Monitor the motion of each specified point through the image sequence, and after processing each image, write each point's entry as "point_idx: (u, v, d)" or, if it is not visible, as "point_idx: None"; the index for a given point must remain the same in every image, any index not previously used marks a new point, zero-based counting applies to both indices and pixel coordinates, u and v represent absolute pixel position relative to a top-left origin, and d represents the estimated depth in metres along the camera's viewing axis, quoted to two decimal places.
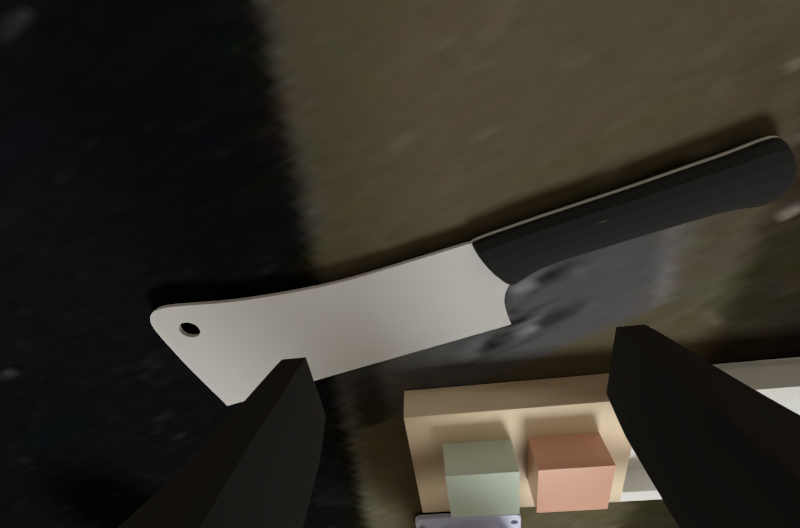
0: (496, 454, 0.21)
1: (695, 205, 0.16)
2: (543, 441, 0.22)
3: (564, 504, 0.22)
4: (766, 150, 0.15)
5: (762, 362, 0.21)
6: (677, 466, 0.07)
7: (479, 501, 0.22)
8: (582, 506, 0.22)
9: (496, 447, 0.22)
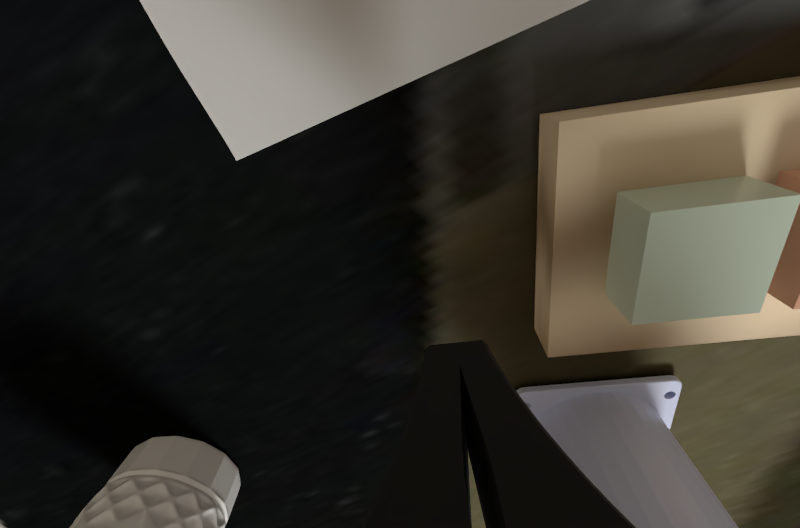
0: (733, 187, 0.11)
1: None
2: None
3: None
4: None
5: None
6: (480, 478, 0.07)
7: (696, 281, 0.12)
8: None
9: (724, 183, 0.12)
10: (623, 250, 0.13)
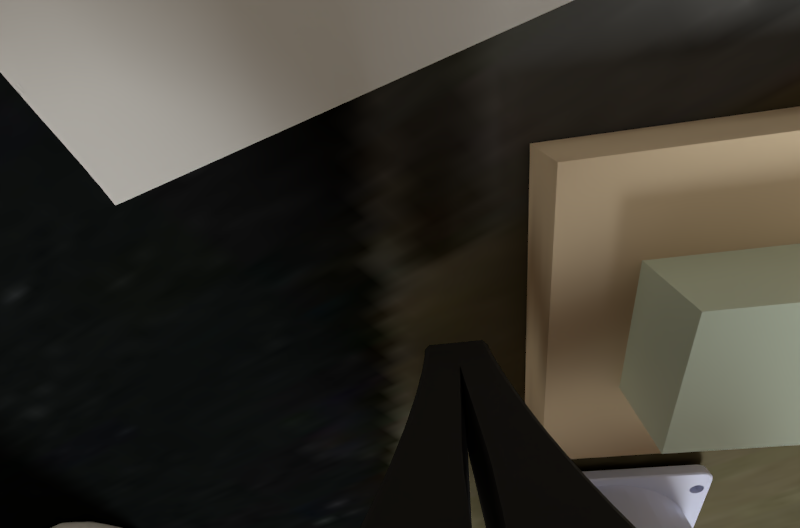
0: None
1: None
2: None
3: None
4: None
5: None
6: (480, 478, 0.07)
7: (762, 402, 0.08)
8: None
9: None
10: (650, 345, 0.09)
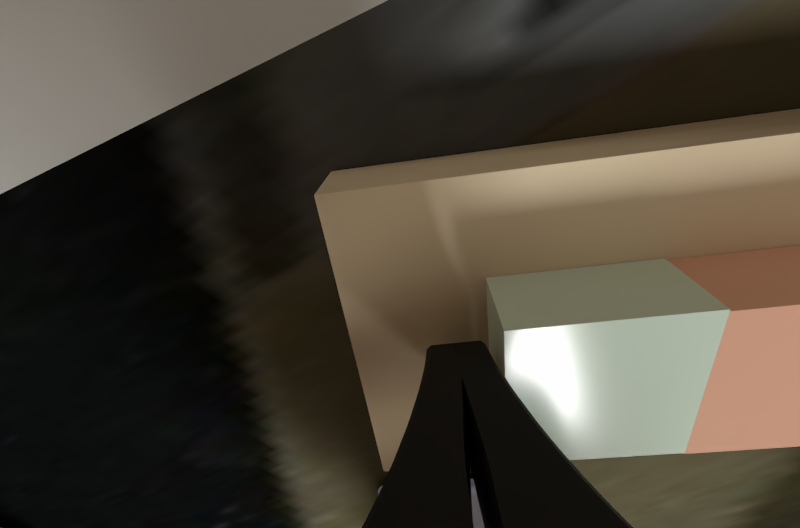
0: (639, 284, 0.08)
1: None
2: (709, 262, 0.08)
3: (765, 428, 0.08)
4: None
5: None
6: (478, 478, 0.07)
7: (587, 416, 0.08)
8: None
9: (631, 273, 0.08)
10: (494, 360, 0.09)
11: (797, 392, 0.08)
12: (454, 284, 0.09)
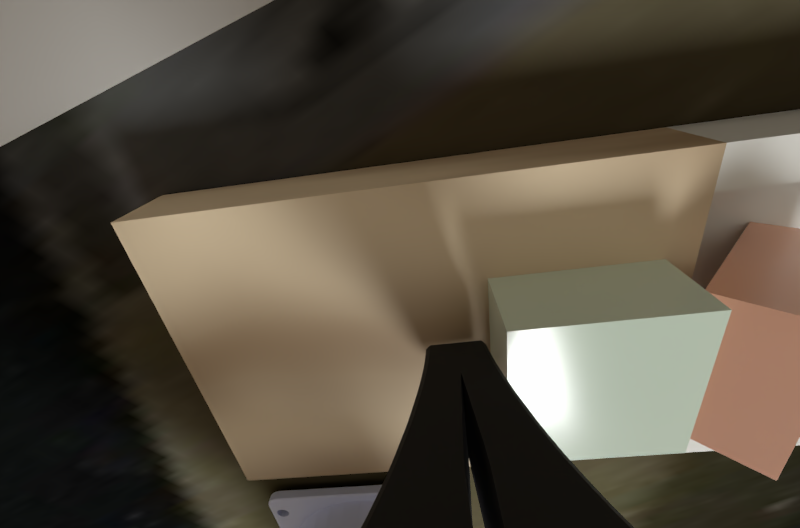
0: (640, 284, 0.08)
1: None
2: (733, 279, 0.08)
3: None
4: None
5: None
6: (479, 478, 0.07)
7: (589, 416, 0.08)
8: None
9: (632, 274, 0.08)
10: (496, 360, 0.09)
11: None
12: (265, 305, 0.09)
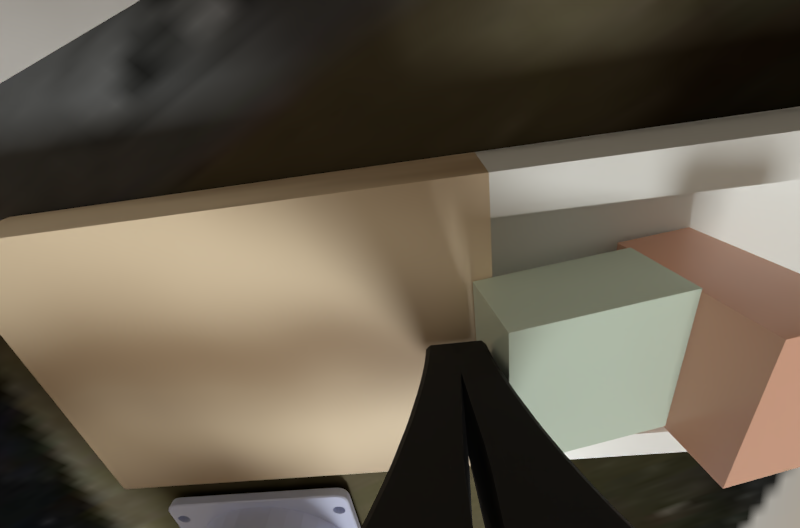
0: (617, 273, 0.08)
1: None
2: (754, 309, 0.07)
3: None
4: None
5: None
6: (479, 478, 0.07)
7: (584, 405, 0.08)
8: None
9: (606, 263, 0.09)
10: None
11: None
12: (96, 323, 0.10)
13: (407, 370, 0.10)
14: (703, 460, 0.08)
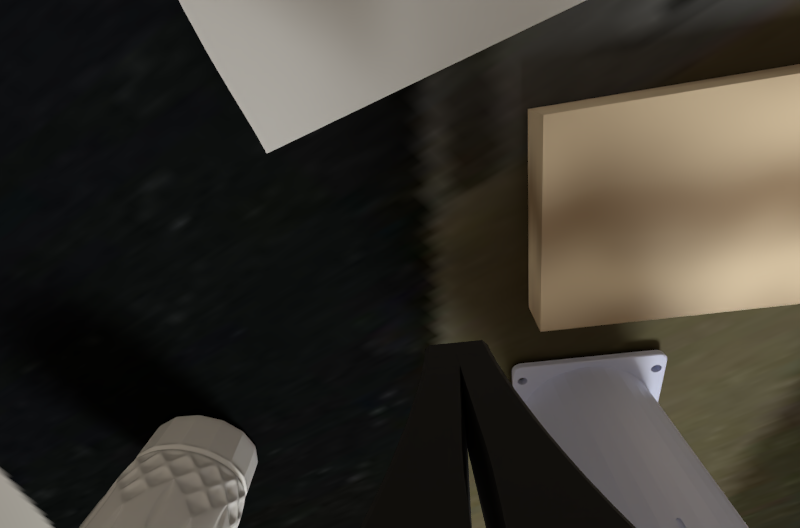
0: None
1: None
2: None
3: None
4: None
5: None
6: (480, 478, 0.07)
7: None
8: None
9: None
10: None
11: None
12: (620, 175, 0.14)
13: None
14: None
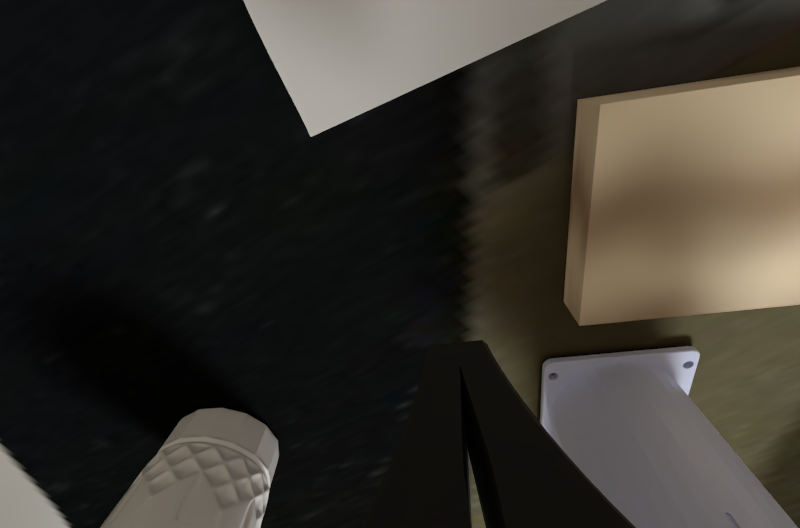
0: None
1: None
2: None
3: None
4: None
5: None
6: (479, 478, 0.07)
7: None
8: None
9: None
10: None
11: None
12: (672, 168, 0.14)
13: None
14: None
